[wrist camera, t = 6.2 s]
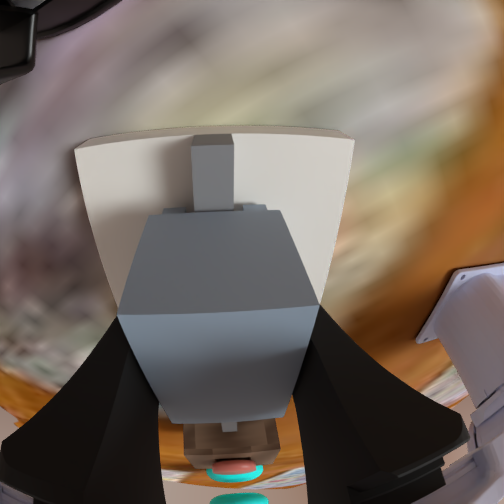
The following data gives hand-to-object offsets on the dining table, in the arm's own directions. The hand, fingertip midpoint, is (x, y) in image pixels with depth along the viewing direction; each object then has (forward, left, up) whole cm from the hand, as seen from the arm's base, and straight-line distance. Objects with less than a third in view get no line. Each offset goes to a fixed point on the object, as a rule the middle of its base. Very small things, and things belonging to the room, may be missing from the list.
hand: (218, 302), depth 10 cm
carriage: (0, 0, -2) cm, 2 cm away
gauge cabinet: (0, +21, -4) cm, 21 cm away
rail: (0, +6, -4) cm, 7 cm away
